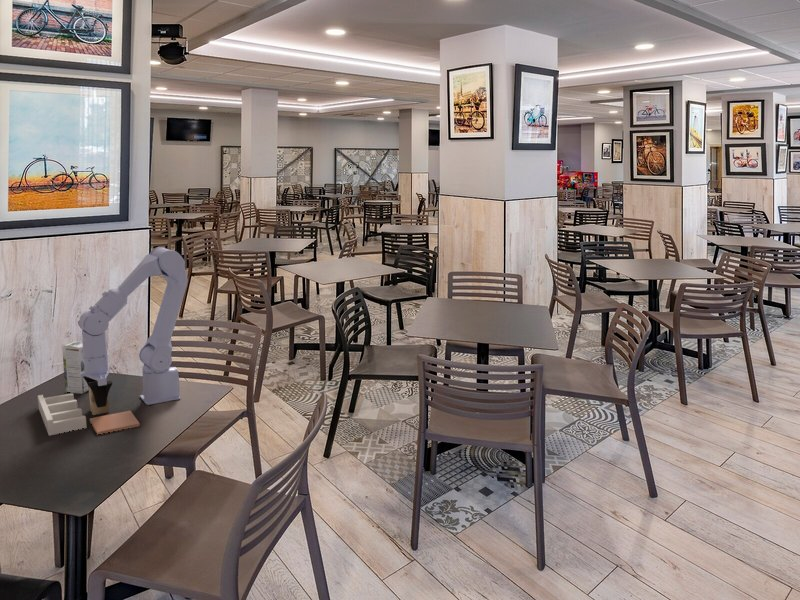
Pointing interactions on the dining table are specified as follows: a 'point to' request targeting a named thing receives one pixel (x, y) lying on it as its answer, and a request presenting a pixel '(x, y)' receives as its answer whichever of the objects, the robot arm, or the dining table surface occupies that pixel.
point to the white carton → (74, 368)
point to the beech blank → (93, 406)
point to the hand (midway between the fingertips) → (99, 402)
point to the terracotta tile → (114, 422)
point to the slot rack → (61, 414)
